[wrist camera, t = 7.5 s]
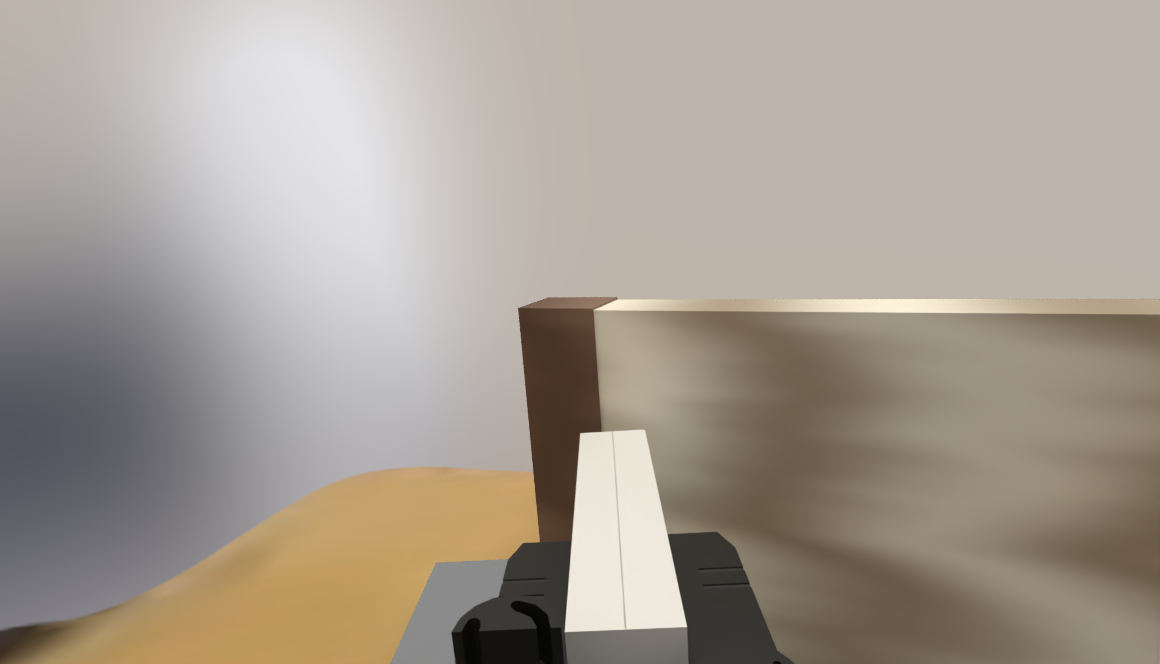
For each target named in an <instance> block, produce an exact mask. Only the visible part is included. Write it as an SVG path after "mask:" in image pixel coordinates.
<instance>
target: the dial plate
mask: <svg viewBox="0 0 1160 664" xmlns="http://www.w3.org/2000/svg"><path fill="white" fill-rule="evenodd" d="M507 561H508V559H505V560H484V561H463V562H443V563H436V564H435V566H434V568H433V571H432V573H431V575H430V577H429V579H428V582H427V584H426V586H425V588H424V591H423V593H422V595H421V597H420V599H419V602H418V604H417V606H416V608H415V610H414V613H413V615H412V617H411V619H410V622H409V624H408V626H407V628H406V630H405V633H404V635H403V637H402V639H401V641H400V644H399V646H398V648H397V650H396V653H395V655H394V657H393V659H392V661H391V664H455V656H454V649H453V641H452V634H451V632H452V630H453V629H454V627H455V625H456V624H457V622H458V621H459V619H460V618H461V617H462V616H463V615H464V614H466V613H467V612H468V611H469V610H471V609H472V608H473V607H474V606H476V605H478V604H481V603H483V602H485V601H488V600H490V599H492V598H496V597H499V593H500V589H501V585H502V584H503V577H504V573H505V569H506V565H507Z"/></svg>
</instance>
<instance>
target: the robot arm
mask: <svg viewBox="0 0 1160 664" xmlns="http://www.w3.org/2000/svg"><path fill="white" fill-rule="evenodd" d="M451 634H452V641H453V649H454V656H455V664H794V663H793V661H791V660H790V659H789V658H787V657H786V656H784V655H783V654H782V653H780V652H779V651H778V650H777V648H776V646H775V644H774V641H773V639H772V636H771V634H770V631H769V629H768V626H767V624H766V621H765V619H764V617H763V614H762V612H761V609H760V607H759V604H758V602H757V599H756V597H755V594H754V592H753V589H752V587H750V582H749V580H748V577H747V575H746V572H745V570H743V565H742V562H741V560H740V558H739V555H738V553H737V550H736V548H735V547H734V546H733V545H732V544H731V543H730V542H729V541H727V540H726V539H725V538H724V537H723V536H722V535H720V534H719V533H718V532H700V533H679V534H667V531H666V526H665V521H664V517H663V512H662V507H661V503H660V498H659V493H658V488H657V484H656V479H655V474H654V470H653V465H652V460H651V456H650V451H649V446H648V442H647V437H646V432H645V430H627V431H610V432H592V433H580V444H579V456H578V469H577V482H576V495H575V507H574V520H573V533H572V541H558V542H538V543H523V544H522V545H521V546H520V547H519V548H518V550H517V551H516V552H515V553H514V554H513V555H512V556H511V557H510V558H509V559H508V561H507V565H506V569H505V573H504V577H503V584H502V585H501V589H500V593H499V597H496V598H492V599H490V600H488V601H485V602H483V603H481V604H478V605H476V606H474V607H473V608H472V609H471V610H469V611H468V612H467V613H466V614H464V615H463V616H462V617H461V618H460V619H459V621H458V622H457V624H456V625H455V627H454V629H453V630H452V632H451Z"/></svg>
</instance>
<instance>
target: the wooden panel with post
mask: <svg viewBox="0 0 1160 664" xmlns="http://www.w3.org/2000/svg"><path fill="white" fill-rule="evenodd" d="M518 311H519V322H520V332H521V343H522V354H523V364H524V375H525V386H526V397H527V407H528V418H529V429H530V439H531V450H532V461H533V472H534V482H535V493H536V504H537V515H538V525H539V536H540V542H558V541H572V533H573V520H574V507H575V495H576V482H577V469H578V456H579V444H580V433H592V432H610V431H627V430H645V432H646V437H647V442H648V446H649V451H650V456H651V460H652V465H653V470H654V474H655V479H656V484H657V488H658V493H659V498H660V503H661V507H662V512H663V517H664V521H665V526H666V531H667V534H679V533H700V532H718V533H719V534H720V535H722V536H723V537H724V538H725V539H726V540H727V541H729V542H730V543H731V544H732V545H733V546H734V547H735V548H736V550H737V553H738V555H739V558H740V560H741V562H742V565H743V570H745V572H746V575H747V577H748V580H749V582H750V587H752V589H753V592H754V594H755V597H756V599H757V602H758V604H759V607H760V609H761V612H762V614H763V617H764V619H765V621H766V624H767V626H768V629H769V631H770V634H771V636H772V639H773V641H774V644H775V646H776V648H777V650H778V651H779V652H780V653H782V654H783V655H784V656H786V657H787V658H789V659H790V660H791V661H793V663H794V664H1160V299H899V300H898V299H880V300H879V299H868V300H867V299H863V300H862V299H857V300H856V299H847V300H845V299H841V300H840V299H837V300H836V299H834V300H831V299H829V300H826V299H825V300H822V299H820V300H819V299H817V300H814V299H811V300H810V299H803V300H801V299H800V300H798V299H797V300H796V299H794V300H793V299H788V300H617V297H616V298H614V297H607V298H606V297H605V298H604V297H602V298H601V297H593V298H591V297H589V298H587V297H582V298H546V299H543V300H540V301H537V302H534V303H531V304H529V305H526V306H523V307H520V308H518Z"/></svg>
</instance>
